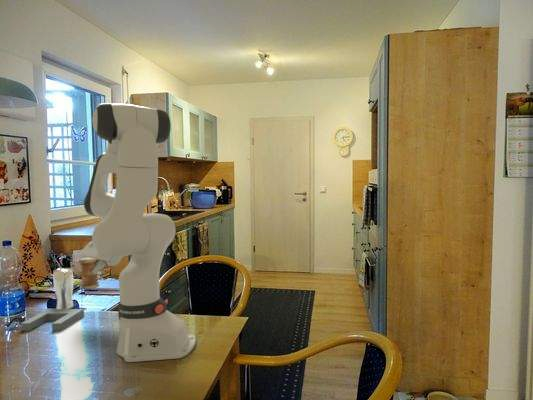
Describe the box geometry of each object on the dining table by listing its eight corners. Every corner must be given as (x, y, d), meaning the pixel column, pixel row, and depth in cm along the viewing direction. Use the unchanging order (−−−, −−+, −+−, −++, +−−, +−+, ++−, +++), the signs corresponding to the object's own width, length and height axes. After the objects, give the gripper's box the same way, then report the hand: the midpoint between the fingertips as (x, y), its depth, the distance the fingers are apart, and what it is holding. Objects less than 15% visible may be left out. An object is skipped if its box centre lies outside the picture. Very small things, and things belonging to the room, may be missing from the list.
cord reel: (102, 284, 141) (100, 257, 140) (93, 289, 135) (92, 260, 134) (86, 284, 141) (85, 257, 141) (77, 289, 136) (75, 260, 135)
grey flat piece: (84, 315, 143) (83, 309, 143) (60, 330, 130) (60, 323, 129) (48, 315, 145) (47, 309, 145) (21, 330, 131) (20, 323, 131)
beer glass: (62, 304, 157) (60, 267, 157) (78, 304, 157) (76, 267, 156) (51, 310, 151) (48, 272, 150) (67, 310, 150) (65, 272, 149)
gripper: (89, 233, 149) (65, 264, 141) (121, 237, 137) (97, 270, 129) (100, 243, 153) (78, 273, 145) (133, 247, 141) (110, 280, 133)
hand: (87, 272), depth 137 cm, fingers closed on cord reel, 5 cm apart
